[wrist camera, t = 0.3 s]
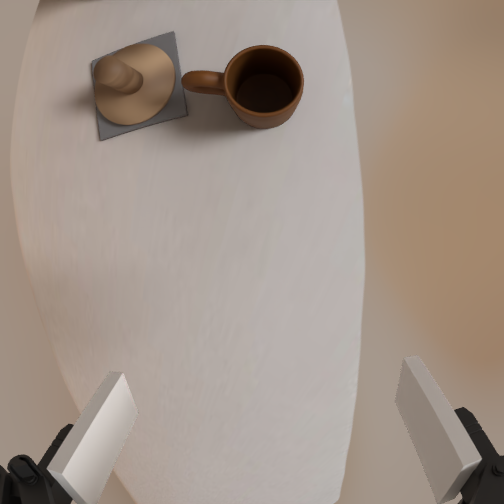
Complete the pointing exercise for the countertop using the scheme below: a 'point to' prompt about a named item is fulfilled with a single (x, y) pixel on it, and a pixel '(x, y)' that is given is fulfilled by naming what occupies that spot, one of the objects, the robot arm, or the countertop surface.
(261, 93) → the mug
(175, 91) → the mat
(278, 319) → the countertop surface
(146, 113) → the lid
